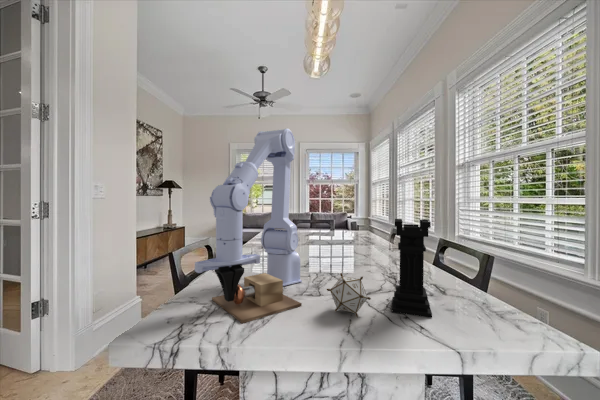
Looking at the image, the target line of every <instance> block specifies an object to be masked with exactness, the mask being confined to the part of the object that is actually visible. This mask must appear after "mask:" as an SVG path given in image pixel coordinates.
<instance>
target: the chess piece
mask: <svg viewBox="0 0 600 400" xmlns="http://www.w3.org/2000/svg"><path fill="white" fill-rule="evenodd" d="M431 222H432V221H429V219H419V224H413V223H411V224H410V223H409V224H408V223H407V224H406V223H404V224H403V219H402V218H394V228H396V233H395V234H396V236H399V242H398V243H397V245H398V246H397V250H398V251H399V285H398V284H396V285H395V290H394V291H393V293H394V294H393V296H392V303H391V313H392V314H399V315H409V316H415V317H423V318H431V319H432V318H433V312H432V310H431V305H430V301H429V297H428V293H427V291H426V290H427V289H426V287H424V265H425V264H424V262H425V261H424V258H425V257H424V256H425V255H424V253H425V252H427V247H426V245H425V243H424V242H425V239H424V238H429V229H430V228H432V227H431V225H432V224H431Z"/></svg>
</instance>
